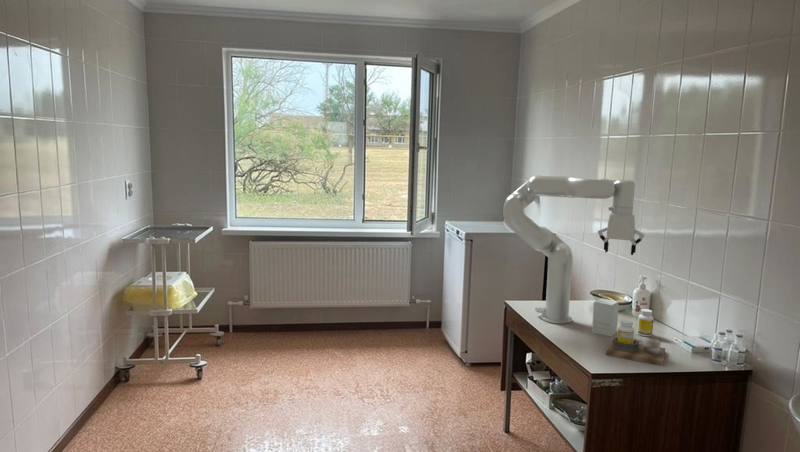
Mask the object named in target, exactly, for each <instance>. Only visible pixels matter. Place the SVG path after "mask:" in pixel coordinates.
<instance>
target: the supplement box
mask: <svg viewBox="0 0 800 452" xmlns="http://www.w3.org/2000/svg"><path fill="white" fill-rule="evenodd" d="M619 302H620V301H618V300H611V299H606V298H599V299H597V300H595V301H593V312H592V314H593V315H592V332H591V333H594V334H598V335H602V336H606V337H612V336H613V335H615V334H616V333H618V319H619V318H618V317H619Z"/></svg>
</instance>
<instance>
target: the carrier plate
mask: <svg viewBox="0 0 800 452" xmlns="http://www.w3.org/2000/svg"><path fill="white" fill-rule="evenodd" d="M606 354H607V355H606ZM665 354H666V348H665V347H661V341H659V340H658V339H654V338H645V339H644V342H643V343H640V342H639V341H638V340H637V339H635V338H634V341H633V344H625V343H621V342H618V341H617V336H614V337H613V338H611V339H610V341H609V343H608V346H607V347H606V349H605V355H606V356H610V355H611V356H610V357H615V356H616V357H615V358H622V359H625V360H626V359H627V360H632V361H637V362H642V363H647V364H651V365H653V364H654V365H657V366H663V365H664V360H665Z"/></svg>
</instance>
